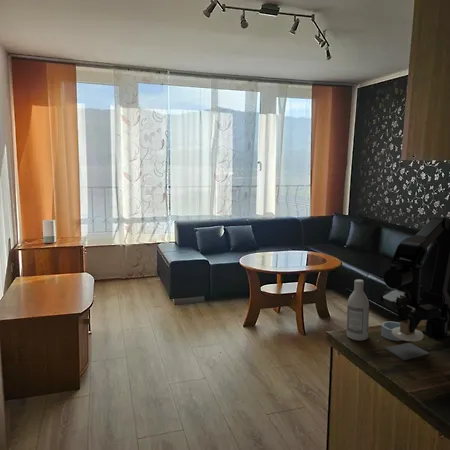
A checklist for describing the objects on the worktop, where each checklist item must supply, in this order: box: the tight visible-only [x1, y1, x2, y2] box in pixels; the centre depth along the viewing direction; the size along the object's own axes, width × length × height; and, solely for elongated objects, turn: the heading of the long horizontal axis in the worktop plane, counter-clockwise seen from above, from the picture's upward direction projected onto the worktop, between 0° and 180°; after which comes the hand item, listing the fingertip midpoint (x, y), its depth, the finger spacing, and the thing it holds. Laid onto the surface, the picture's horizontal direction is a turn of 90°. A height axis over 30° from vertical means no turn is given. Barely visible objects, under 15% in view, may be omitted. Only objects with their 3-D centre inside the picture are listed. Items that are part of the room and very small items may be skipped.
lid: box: [392, 319, 424, 342], centre depth 125 cm, size 9×9×4 cm
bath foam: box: [346, 278, 370, 342], centre depth 137 cm, size 7×7×20 cm
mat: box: [384, 342, 430, 361], centre depth 127 cm, size 10×8×1 cm
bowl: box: [380, 320, 402, 342], centre depth 138 cm, size 8×8×4 cm
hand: (407, 330), depth 125 cm, fingers closed on lid, 3 cm apart
